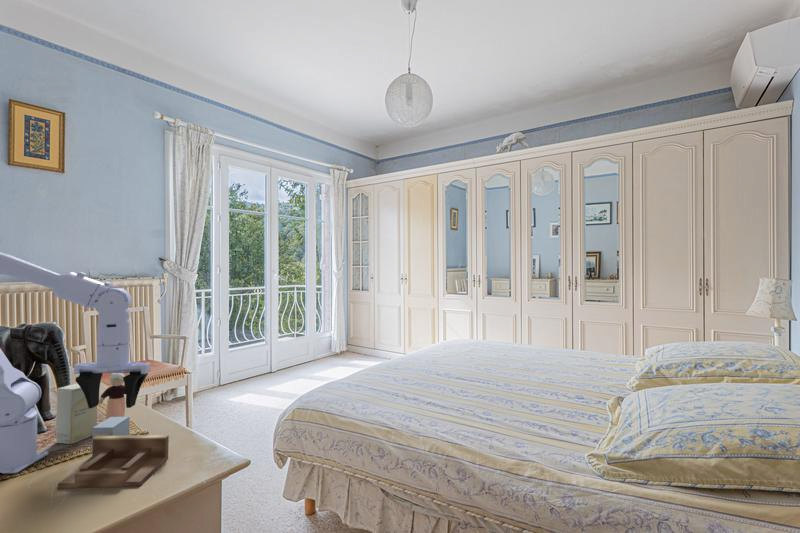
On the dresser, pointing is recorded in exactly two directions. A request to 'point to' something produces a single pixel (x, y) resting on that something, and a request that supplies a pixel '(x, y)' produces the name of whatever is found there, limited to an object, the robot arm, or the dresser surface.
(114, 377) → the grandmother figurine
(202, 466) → the dresser surface
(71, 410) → the skincare box
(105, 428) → the cabinet block
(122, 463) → the rack
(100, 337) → the robot arm
